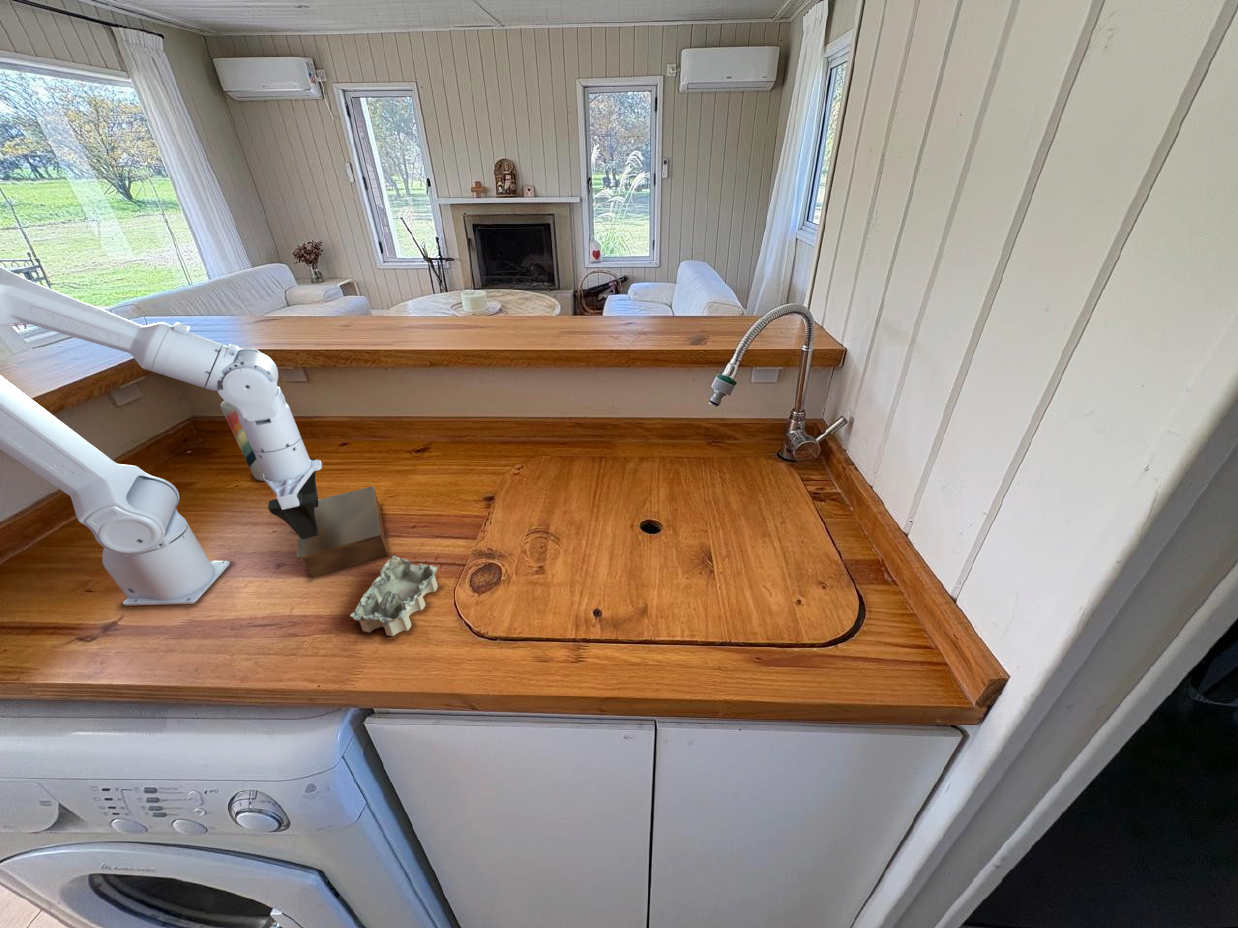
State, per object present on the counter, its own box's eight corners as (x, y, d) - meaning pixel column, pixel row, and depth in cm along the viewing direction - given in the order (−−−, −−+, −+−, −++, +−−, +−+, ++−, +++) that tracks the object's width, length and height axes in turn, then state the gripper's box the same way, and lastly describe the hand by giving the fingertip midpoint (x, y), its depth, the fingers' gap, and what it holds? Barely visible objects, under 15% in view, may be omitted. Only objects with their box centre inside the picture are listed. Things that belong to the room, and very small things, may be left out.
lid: (298, 560, 69) (286, 535, 66) (301, 506, 79) (291, 482, 77) (381, 537, 73) (373, 513, 70) (374, 488, 84) (366, 465, 81)
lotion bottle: (256, 469, 96) (210, 371, 85) (290, 462, 98) (249, 366, 87) (252, 484, 91) (203, 383, 81) (287, 477, 93) (244, 377, 83)
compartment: (311, 578, 71) (303, 559, 69) (313, 522, 82) (305, 505, 80) (387, 556, 75) (381, 537, 73) (379, 505, 86) (374, 488, 84)
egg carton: (401, 572, 72) (394, 551, 70) (447, 581, 70) (442, 560, 68) (349, 630, 63) (340, 607, 61) (401, 642, 61) (393, 619, 59)
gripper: (309, 459, 63) (341, 541, 70) (311, 414, 74) (339, 489, 81) (243, 473, 60) (284, 557, 67) (255, 424, 71) (289, 501, 78)
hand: (310, 521), depth 74 cm, fingers open, 7 cm apart
